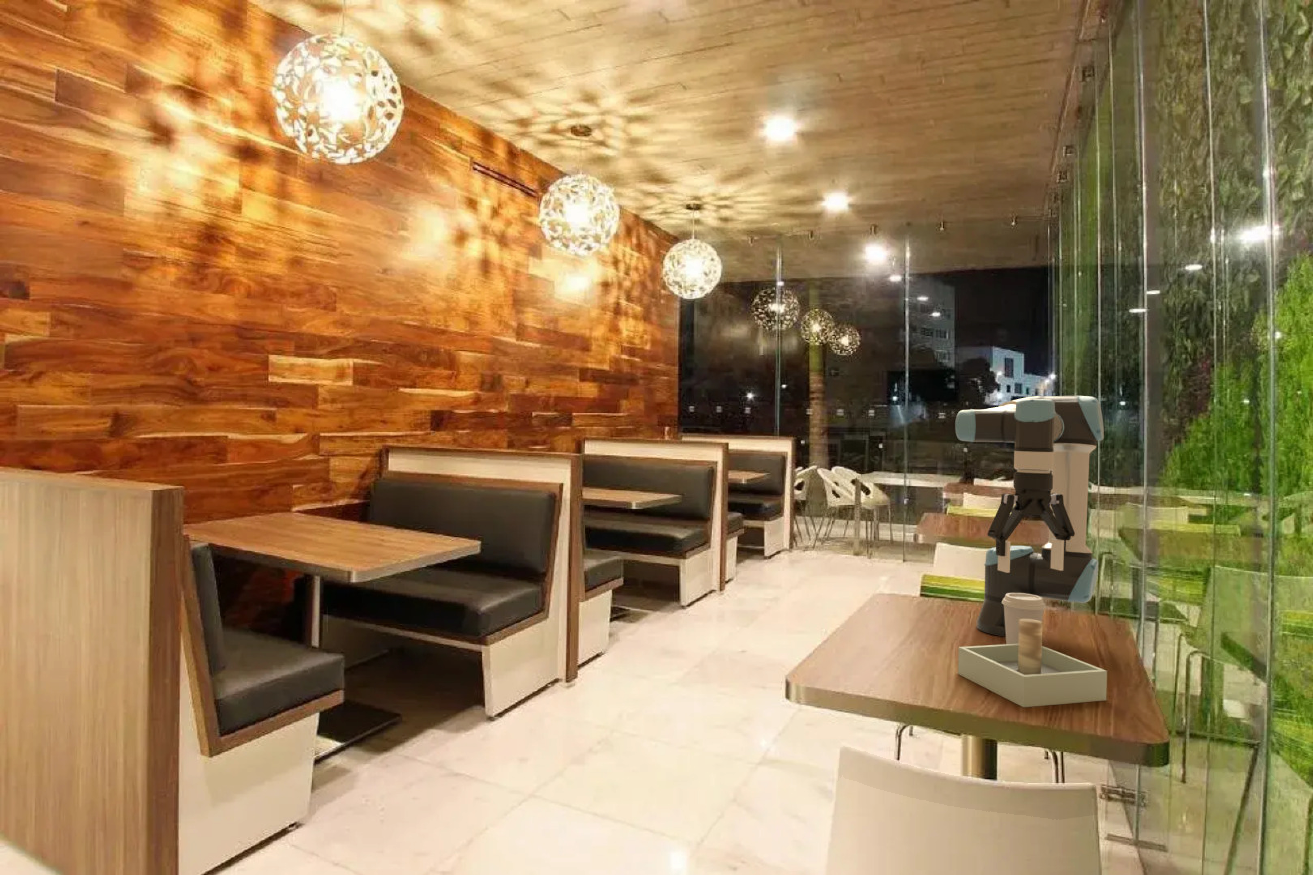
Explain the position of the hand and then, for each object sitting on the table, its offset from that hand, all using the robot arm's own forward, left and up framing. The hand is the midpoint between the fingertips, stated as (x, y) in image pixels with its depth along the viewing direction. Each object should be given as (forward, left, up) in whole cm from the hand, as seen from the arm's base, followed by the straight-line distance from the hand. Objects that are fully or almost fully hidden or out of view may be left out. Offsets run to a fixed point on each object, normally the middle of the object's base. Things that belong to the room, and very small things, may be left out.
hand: (1030, 570), depth 157 cm
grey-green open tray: (0, +1, -25) cm, 25 cm away
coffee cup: (-13, -16, -25) cm, 33 cm away
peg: (0, +1, -25) cm, 25 cm away
